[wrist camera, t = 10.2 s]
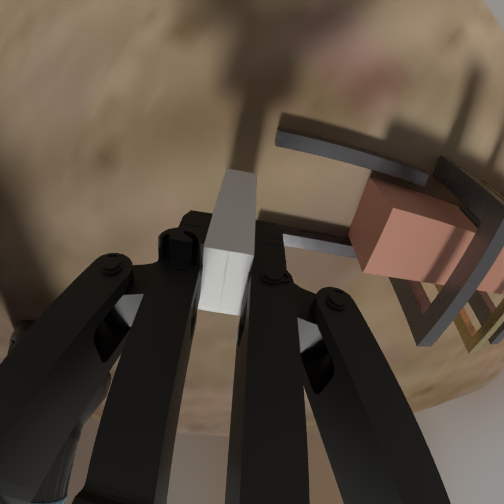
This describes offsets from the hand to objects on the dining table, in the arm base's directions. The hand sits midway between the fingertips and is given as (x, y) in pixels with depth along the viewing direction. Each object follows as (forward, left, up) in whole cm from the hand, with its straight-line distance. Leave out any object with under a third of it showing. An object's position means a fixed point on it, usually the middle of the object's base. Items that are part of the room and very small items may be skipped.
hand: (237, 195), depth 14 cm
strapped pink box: (+15, 0, -2) cm, 15 cm away
